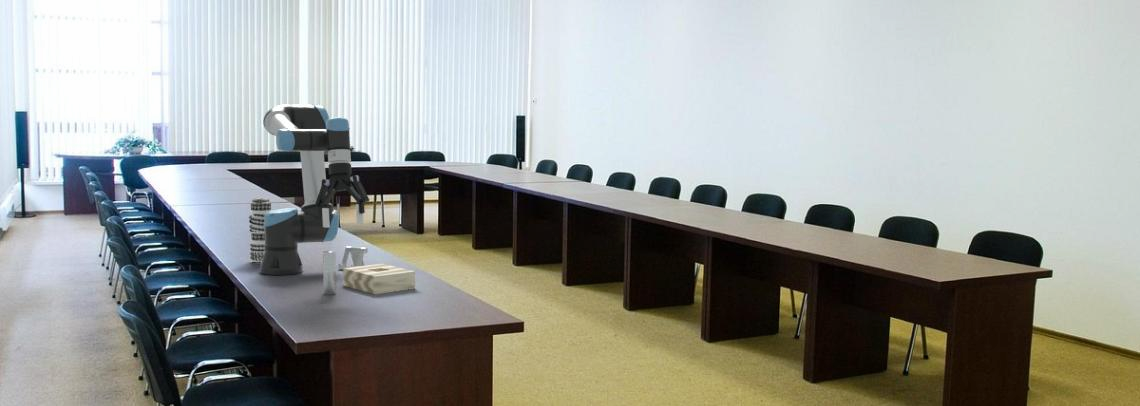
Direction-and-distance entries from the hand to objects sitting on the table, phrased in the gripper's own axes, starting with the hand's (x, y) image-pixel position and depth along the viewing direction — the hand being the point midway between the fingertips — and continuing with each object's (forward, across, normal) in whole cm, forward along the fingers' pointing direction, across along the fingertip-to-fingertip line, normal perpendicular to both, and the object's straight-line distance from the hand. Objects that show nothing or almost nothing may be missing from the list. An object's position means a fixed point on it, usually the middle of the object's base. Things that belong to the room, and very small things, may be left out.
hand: (343, 225), depth 322 cm
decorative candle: (+8, -62, +34) cm, 71 cm away
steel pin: (+23, -2, -7) cm, 24 cm away
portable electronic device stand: (+14, -21, +36) cm, 44 cm away
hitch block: (+22, +6, +10) cm, 25 cm away
